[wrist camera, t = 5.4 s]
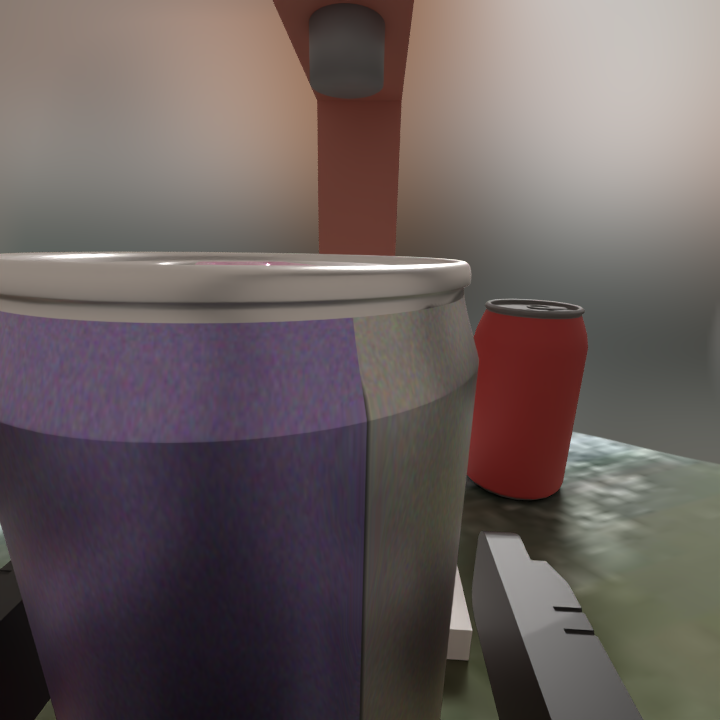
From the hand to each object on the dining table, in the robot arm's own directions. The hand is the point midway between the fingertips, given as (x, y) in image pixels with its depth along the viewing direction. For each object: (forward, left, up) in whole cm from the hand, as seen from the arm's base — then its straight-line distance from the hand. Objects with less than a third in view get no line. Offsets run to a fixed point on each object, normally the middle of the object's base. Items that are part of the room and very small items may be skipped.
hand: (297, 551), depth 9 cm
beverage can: (0, +2, -9) cm, 9 cm away
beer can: (-11, -17, -9) cm, 22 cm away
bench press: (0, -13, -9) cm, 16 cm away
